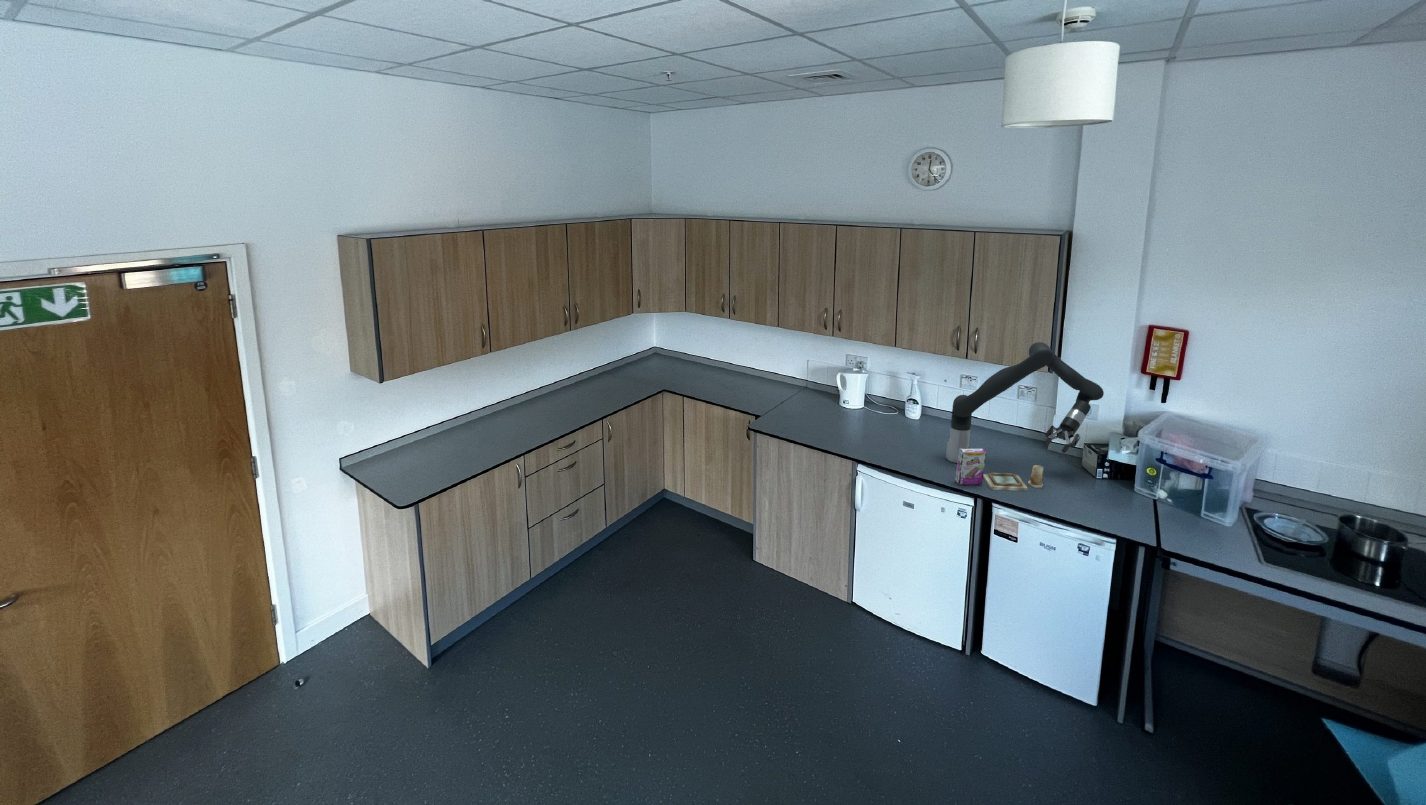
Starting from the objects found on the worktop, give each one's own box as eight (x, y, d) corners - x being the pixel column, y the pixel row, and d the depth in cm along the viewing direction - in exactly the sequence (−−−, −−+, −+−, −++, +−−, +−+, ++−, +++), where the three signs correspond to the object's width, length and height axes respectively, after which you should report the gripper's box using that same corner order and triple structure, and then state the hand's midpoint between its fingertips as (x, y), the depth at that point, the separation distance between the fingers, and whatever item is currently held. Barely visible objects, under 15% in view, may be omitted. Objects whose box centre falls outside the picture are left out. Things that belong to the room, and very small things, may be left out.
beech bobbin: (1024, 484, 328) (1027, 466, 325) (1033, 480, 331) (1036, 463, 328) (1037, 489, 323) (1040, 470, 320) (1046, 485, 326) (1048, 467, 323)
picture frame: (990, 489, 322) (991, 484, 322) (982, 476, 336) (983, 471, 335) (1027, 490, 321) (1027, 485, 320) (1017, 477, 334) (1018, 472, 333)
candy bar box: (958, 485, 327) (962, 452, 322) (954, 480, 332) (958, 448, 326) (982, 484, 327) (986, 452, 322) (978, 480, 332) (982, 447, 327)
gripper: (1056, 412, 333) (1037, 439, 331) (1085, 421, 321) (1066, 449, 319) (1061, 420, 337) (1042, 448, 335) (1089, 429, 326) (1071, 458, 324)
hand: (1054, 448), depth 327 cm, fingers open, 8 cm apart
